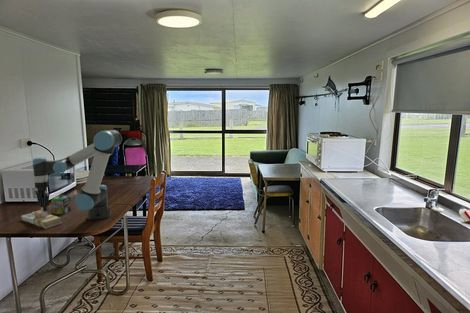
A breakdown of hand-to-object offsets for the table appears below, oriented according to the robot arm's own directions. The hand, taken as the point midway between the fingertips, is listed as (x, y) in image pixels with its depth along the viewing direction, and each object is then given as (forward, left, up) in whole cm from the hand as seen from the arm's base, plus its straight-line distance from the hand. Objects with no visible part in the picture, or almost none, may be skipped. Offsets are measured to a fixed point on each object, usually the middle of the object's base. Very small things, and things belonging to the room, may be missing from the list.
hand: (44, 215), depth 195 cm
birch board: (-3, 0, -5) cm, 6 cm away
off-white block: (+7, 0, -1) cm, 7 cm away
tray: (+12, 0, -5) cm, 13 cm away
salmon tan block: (+4, 0, -1) cm, 4 cm away
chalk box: (+12, -18, -5) cm, 22 cm away
